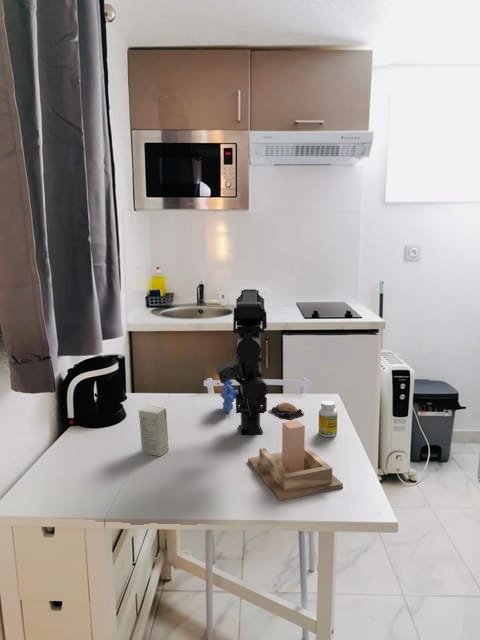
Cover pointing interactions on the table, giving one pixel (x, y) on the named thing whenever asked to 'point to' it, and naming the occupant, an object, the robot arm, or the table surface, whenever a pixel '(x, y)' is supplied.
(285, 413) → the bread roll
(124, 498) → the table surface
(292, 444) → the clay block
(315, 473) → the rack
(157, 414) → the skincare box
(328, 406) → the supplement bottle
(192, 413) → the table surface
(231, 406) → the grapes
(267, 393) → the robot arm
